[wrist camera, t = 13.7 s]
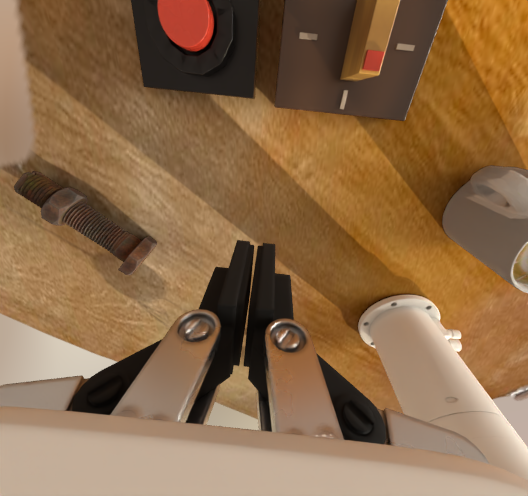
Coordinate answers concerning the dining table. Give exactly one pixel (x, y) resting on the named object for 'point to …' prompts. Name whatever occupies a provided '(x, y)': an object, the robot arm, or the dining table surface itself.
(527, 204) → the coffee mug
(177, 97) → the dining table surface
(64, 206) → the bolt
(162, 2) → the red button
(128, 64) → the dining table surface
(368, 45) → the gold slab
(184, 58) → the button box
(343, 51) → the plate
